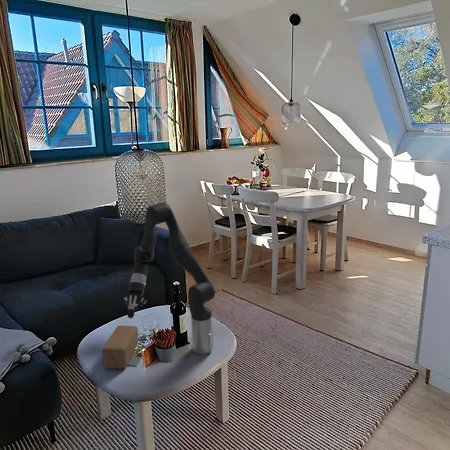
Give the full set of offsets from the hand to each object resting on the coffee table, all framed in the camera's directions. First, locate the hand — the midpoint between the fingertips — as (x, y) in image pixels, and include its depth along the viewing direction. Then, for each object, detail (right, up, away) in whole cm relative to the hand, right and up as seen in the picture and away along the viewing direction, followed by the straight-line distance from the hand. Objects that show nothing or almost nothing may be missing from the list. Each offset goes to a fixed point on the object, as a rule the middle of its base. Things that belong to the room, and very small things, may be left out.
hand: (130, 317), depth 192 cm
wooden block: (0, -7, -2) cm, 8 cm away
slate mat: (0, -15, -9) cm, 18 cm away
